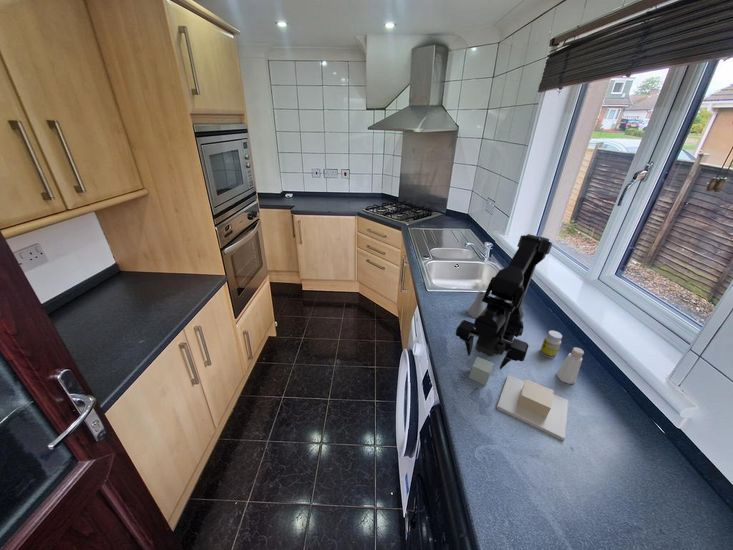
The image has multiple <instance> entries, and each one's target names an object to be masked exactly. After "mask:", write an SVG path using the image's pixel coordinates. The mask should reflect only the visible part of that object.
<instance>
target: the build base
mask: <svg viewBox="0 0 733 550" xmlns="http://www.w3.org/2000/svg"><path fill="white" fill-rule="evenodd" d="M554 391H555V390H553V389H550V388H548V387H546V386H544V385H542V384H539V383H536V382H534V381H532V380H529V379H528V378H526V379H525V380H521V379H519V378H517V377H514V376H512V375H510V374H508V375H507V377H506V380H505V383H504V386H503V389H502V390H501V394H500V397H499V400H498V403H497V405H496V410H499V411H501V412H503V413H506V414H507V415H509V416H511V417H514V418H515V419H517V420H520V421H521V422H523V423H526V424H527V425H528V426H529V425H530V426H532V427H534V428H536V429H538V430H540V431H543V432H544V433H546V434H548V435H551V436H552V437H554V438H556V439H558V440H560V441H563V442H564V441H565V439H566V429H567V421H568V420H567V418H568V409H569V399H566V398H564V397H563V396H562V397H561V396H559V395H557V394H554V393H555V392H554Z"/></svg>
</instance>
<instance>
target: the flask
mask: <svg viewBox="0 0 733 550" xmlns="http://www.w3.org/2000/svg"><path fill="white" fill-rule="evenodd" d="M476 294H477V295H476V297H475V300H474V301H473V302H472V304H471V305H470V306H469V308H468V309H467V310H466V313H468V315H469V316H470V317H472V318H474V319H476V318H477V317H478V316H479V315H480V314H481V313H482V312H483V311H484V309H485V308H486V306H485V302H482V299H483V297H484V294H485V292H484V291H482V290H481V291H480V290H478V291H476Z"/></svg>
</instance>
